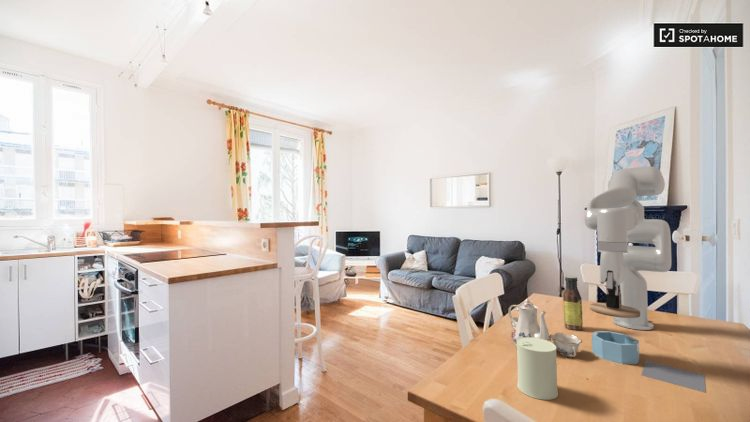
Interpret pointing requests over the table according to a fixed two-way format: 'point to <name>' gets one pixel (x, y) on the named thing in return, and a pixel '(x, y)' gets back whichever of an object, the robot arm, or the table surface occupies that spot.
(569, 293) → the sauce bottle
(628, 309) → the lid
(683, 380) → the mat
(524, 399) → the table surface
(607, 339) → the bowl
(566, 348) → the chinaware
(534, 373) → the can
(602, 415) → the table surface
